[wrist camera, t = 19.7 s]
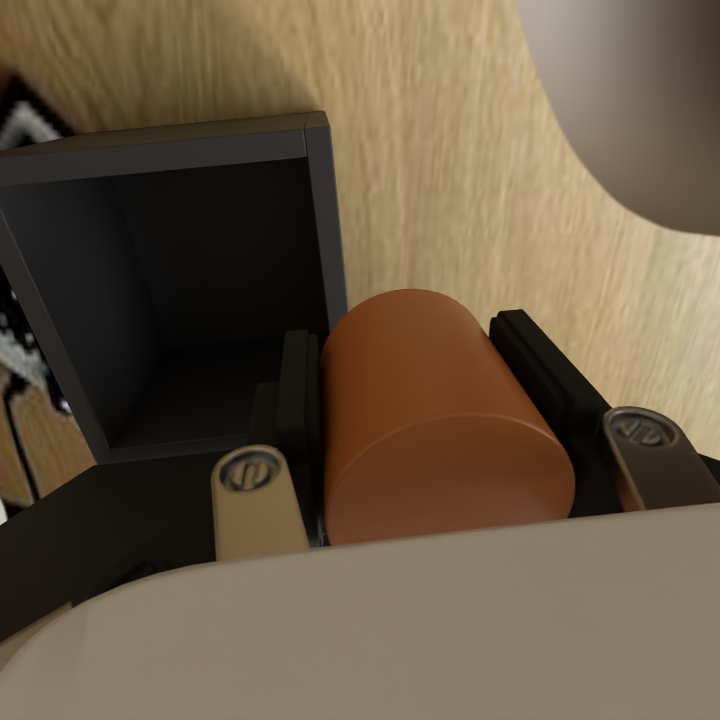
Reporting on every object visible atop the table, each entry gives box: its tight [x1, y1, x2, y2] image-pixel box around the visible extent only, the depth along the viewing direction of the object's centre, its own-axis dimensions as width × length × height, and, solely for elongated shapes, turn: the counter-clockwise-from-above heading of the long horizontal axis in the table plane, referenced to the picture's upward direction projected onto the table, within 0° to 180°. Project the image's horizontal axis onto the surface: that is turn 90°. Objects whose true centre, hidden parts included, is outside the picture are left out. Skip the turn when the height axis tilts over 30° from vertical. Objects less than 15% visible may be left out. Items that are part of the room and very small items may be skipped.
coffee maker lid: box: [0, 449, 331, 642], centre depth 17 cm, size 16×14×5 cm
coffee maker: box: [0, 111, 349, 465], centre depth 26 cm, size 15×14×12 cm
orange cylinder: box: [320, 289, 575, 546], centre depth 10 cm, size 4×4×5 cm
